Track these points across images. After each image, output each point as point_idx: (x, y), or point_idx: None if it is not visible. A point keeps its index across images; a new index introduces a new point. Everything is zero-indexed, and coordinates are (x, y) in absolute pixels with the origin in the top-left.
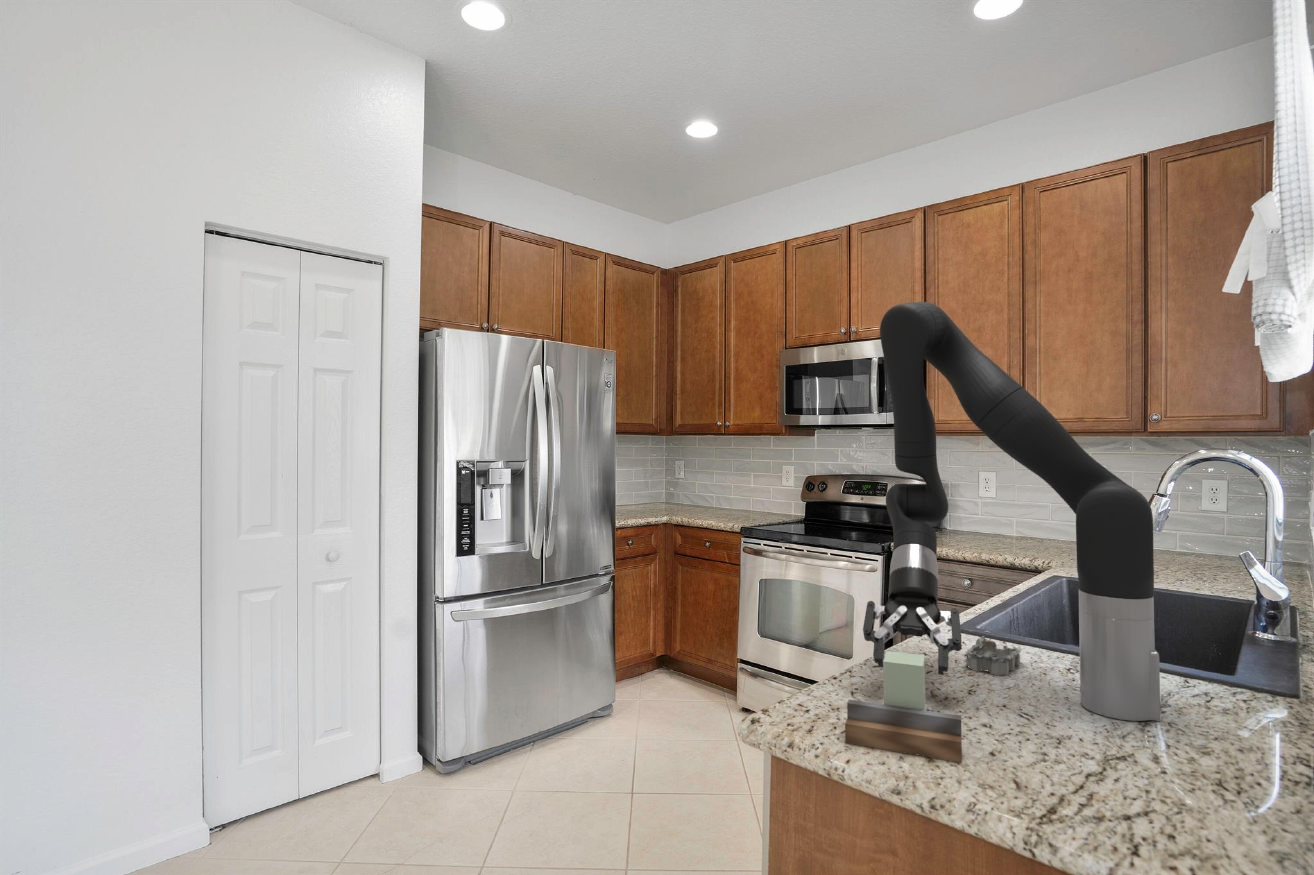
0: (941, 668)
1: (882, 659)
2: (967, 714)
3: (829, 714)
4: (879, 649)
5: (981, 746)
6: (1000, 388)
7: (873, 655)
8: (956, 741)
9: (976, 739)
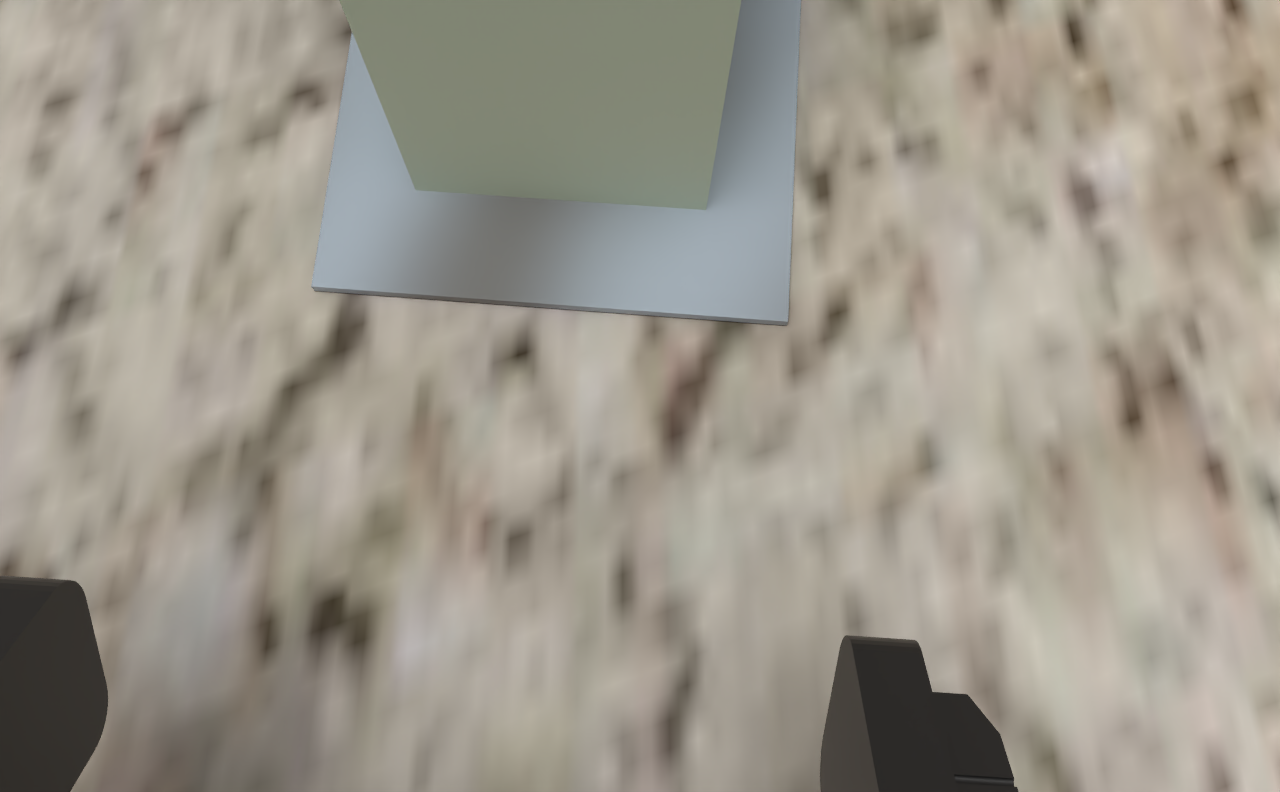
0: (28, 578)
1: (845, 692)
2: None
3: (1168, 259)
4: (929, 770)
5: (56, 37)
6: None
7: (993, 731)
8: None
9: (63, 142)
